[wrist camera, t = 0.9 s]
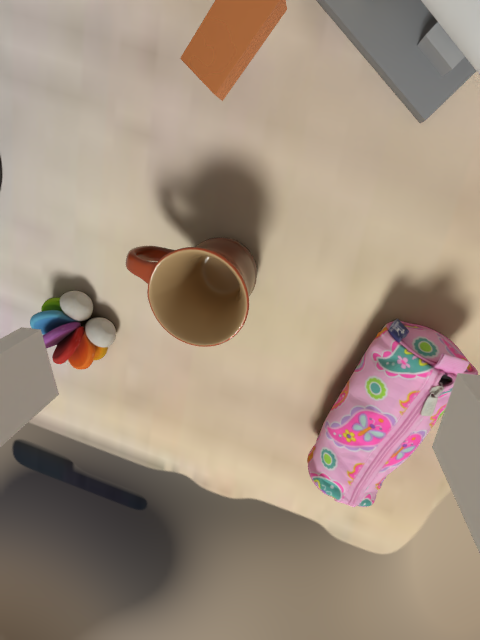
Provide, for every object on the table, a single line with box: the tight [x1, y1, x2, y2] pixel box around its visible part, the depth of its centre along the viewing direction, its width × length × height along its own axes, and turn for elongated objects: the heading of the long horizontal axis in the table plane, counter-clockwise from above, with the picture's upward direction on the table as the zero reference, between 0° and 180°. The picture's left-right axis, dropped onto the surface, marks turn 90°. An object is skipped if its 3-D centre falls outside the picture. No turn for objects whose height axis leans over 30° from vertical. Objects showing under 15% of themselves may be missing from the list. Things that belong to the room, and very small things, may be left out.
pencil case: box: [307, 319, 478, 507], centre depth 35 cm, size 21×9×9 cm, turn 161°
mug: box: [126, 238, 257, 347], centre depth 32 cm, size 12×9×10 cm
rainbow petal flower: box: [30, 291, 116, 369], centre depth 40 cm, size 8×10×7 cm
